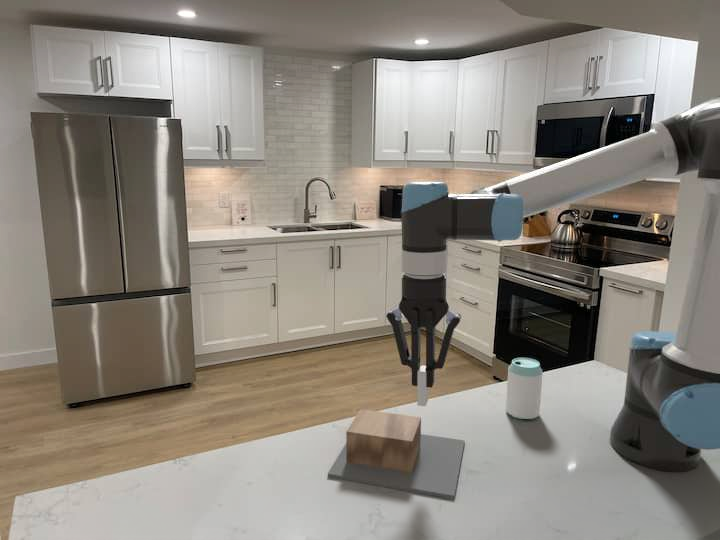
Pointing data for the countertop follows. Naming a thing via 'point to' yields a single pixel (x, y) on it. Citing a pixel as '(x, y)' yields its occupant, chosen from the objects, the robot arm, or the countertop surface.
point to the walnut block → (384, 440)
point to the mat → (428, 475)
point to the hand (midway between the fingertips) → (422, 402)
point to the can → (524, 388)
